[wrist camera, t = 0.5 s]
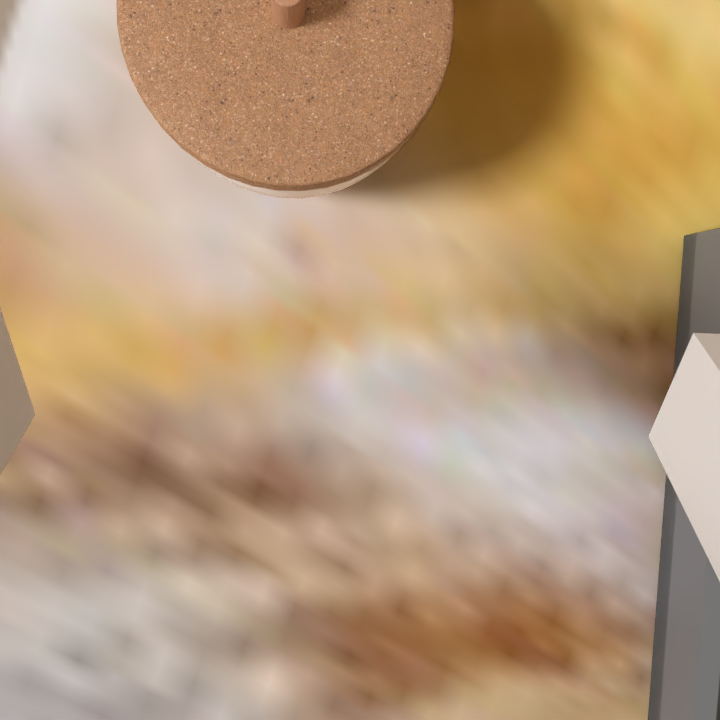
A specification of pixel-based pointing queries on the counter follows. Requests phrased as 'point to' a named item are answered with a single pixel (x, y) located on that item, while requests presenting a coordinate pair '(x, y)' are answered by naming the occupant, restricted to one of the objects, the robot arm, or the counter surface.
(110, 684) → the counter surface
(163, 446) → the counter surface
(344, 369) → the counter surface
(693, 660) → the walled tray
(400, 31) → the lidded jar
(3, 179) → the counter surface
